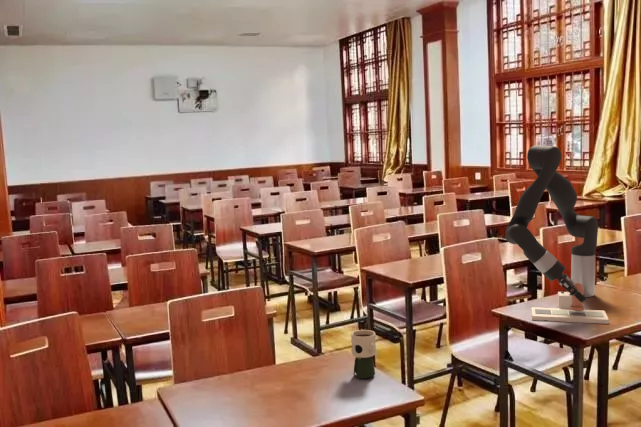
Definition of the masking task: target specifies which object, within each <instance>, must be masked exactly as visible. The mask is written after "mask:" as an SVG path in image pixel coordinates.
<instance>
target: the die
mask: <svg viewBox="0 0 641 427" xmlns="http://www.w3.org/2000/svg"><path fill="white" fill-rule="evenodd" d="M570 305H572V295H571V294H570V293H569V292H568V291H557V308H559V309H570Z"/></svg>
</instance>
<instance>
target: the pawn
mask: <svg viewBox="0 0 641 427" xmlns="http://www.w3.org/2000/svg"><path fill="white" fill-rule="evenodd" d="M574 285H575V288H576V289H578V291H579V292H580V293H581V294H582V295H583V292H584V288H583V285H582V284H580V283H575V284H574ZM573 290H574V289H572V291H573ZM570 309H571V310H573V311H584V310H585V306H584V301H583V302H580V301H579V300H578V299H577V298H576V297H575V296H573V295H572V305H570Z"/></svg>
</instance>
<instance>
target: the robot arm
mask: <svg viewBox="0 0 641 427" xmlns="http://www.w3.org/2000/svg"><path fill="white" fill-rule="evenodd" d="M526 156H527V157H526V158H527V163H528V165H529V167H530V168H531V169H532V171H533V172H534V173H535V174H536V176H537V178H535V180H534V181H533V182H532V183H531V184H530V185H529V186H528V187H527V188H526V189H524V191H523V192H522V194H521V196H520V197H519V200H518V202H517V205H516V207H515V210H514V213H513V215H512V217H511V219H510V220H509V223H508V224H507V227H506V230H505V232H504V234H505V236H504V237H505V240H506V241H507V243H509V244H511V245H512V244H513V245H518V247H519V248H520V249H521V250H522V251H523V255H524V256H525V257H526V258H527V260H529V261H530V262H531V263H532V264H533V265H534V267H536V269H537V270H538V271H539V272H540V273H542V275H544V277H546V279H547V280H548V281H550V282H554V281H556V280H557V283H558V284H559V285H560V286H561V287H562V288H564V289H565V291H566V292H569V293H570V294H571V295H573V296H575V297H576V298H577V299H578V300H579V301H580V302H583V303H584V302H585V301H586V299H587V298H590V297H591V298H592V297H593V296H595V291H596V290H595V287H596V286H595V285H596V284H595V283H596V282H595V281H596V251H597V246H598V235H599V222H598V219H597V218H596V217H595V216H591V215H590V216H589V215H580V214H578V213H576V211H575V206H576V203H577V200H578V193H577V192H576V190H575V188H574V185H573V184H572V183H571V182H570V180H568V179H567V178H566V177H565V176H564V175H562V173H559V172H558V171H557V169H558V167H559V166H560V164H561V160H562V152H561V150H560V148H559V147H557V146H555V145H554V146H553V145H542V144H536V145H532V146H531V147H530V148H529V149H528V151H527V155H526ZM545 191H547V193H548V195H549V197H550V198H551V200H552V202H553V203H554V205H555V206H556V208H557V210H558V212H559V214H560V215H561V217H562V220H563V223H564V225H565V227H566V230H567V232H568V234H569V235H570V236H572V237H574V238H580V239H583V242H582V243H580V244H577V245H573V246H572V247H571V256H570V257H571V260H570V261H571V264H570V267H571V268H570V270H571V272H570V276H569V275H568V274H566V273H564V272H565V270H566V267H565V265H564V264H563V263H562V262H561V261H560V260H559V259H557V258H556V257H555V255H553V254H552V253H551V252H549V251H548V250H547V249H546V248H545V247H544V246H543V245H542V244H541V243H539V241H538V239H537V238H536V236H534V234H533V233H532V232H531V231H530V229H529V228H528V225H529V224H530V222H531V221H532V220H533V218H534V216H535V215H536V211H537V209H538V205H539V204H540V201H541V198H542V197H543V195H544V193H545ZM575 283H580V284H582V285H583V288H584V292H583V295H582V294H581V293H580V292H579V291H578V289H576V288H575V285H574V284H575ZM572 289H574V290H573V291H572Z"/></svg>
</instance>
